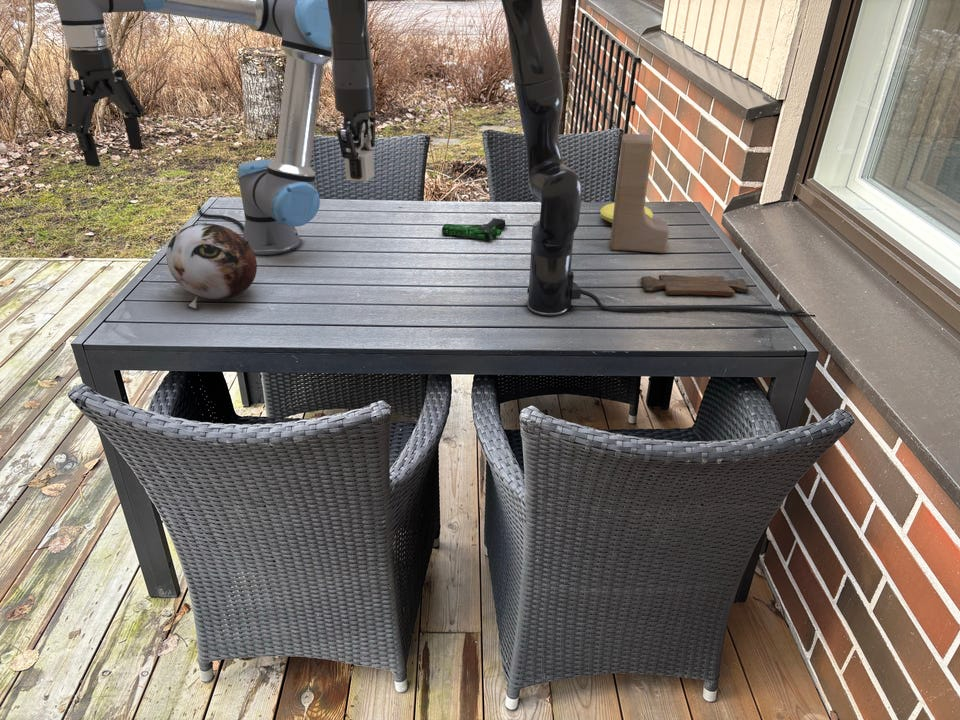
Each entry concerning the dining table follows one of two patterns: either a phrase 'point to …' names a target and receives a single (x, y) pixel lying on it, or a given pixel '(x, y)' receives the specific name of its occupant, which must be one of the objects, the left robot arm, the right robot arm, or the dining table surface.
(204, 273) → the cat face balloon
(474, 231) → the handgun
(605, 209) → the yellow rounded disc
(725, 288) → the dark wooden board
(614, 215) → the decorative block
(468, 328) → the dining table surface
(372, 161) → the block
